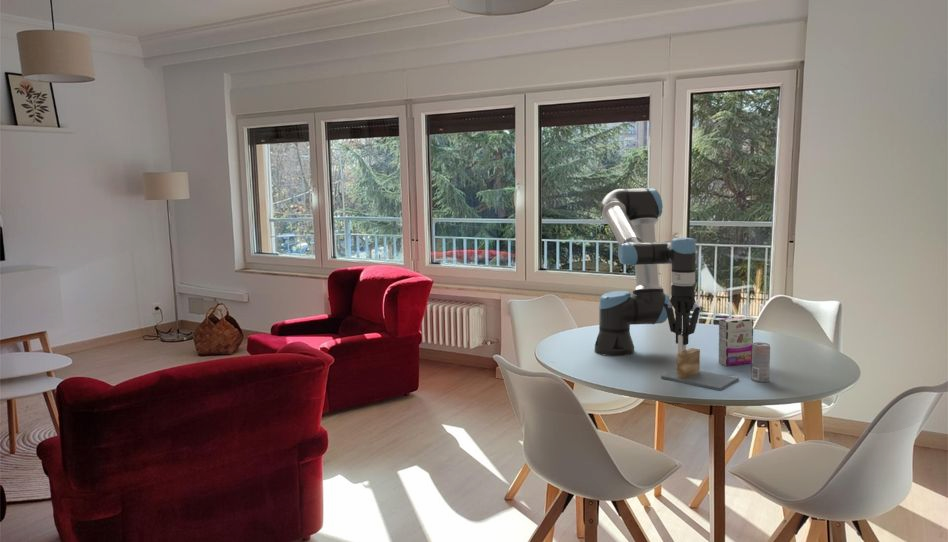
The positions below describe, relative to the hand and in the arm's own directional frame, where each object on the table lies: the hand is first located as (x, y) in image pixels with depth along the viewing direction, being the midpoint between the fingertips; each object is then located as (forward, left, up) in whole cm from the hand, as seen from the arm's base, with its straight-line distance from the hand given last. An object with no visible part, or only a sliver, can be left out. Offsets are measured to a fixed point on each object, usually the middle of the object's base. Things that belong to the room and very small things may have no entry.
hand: (681, 353), depth 210 cm
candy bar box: (+7, +26, -8) cm, 28 cm away
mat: (+6, 0, -8) cm, 10 cm away
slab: (+2, 0, -7) cm, 7 cm away
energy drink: (+21, +12, -8) cm, 26 cm away
